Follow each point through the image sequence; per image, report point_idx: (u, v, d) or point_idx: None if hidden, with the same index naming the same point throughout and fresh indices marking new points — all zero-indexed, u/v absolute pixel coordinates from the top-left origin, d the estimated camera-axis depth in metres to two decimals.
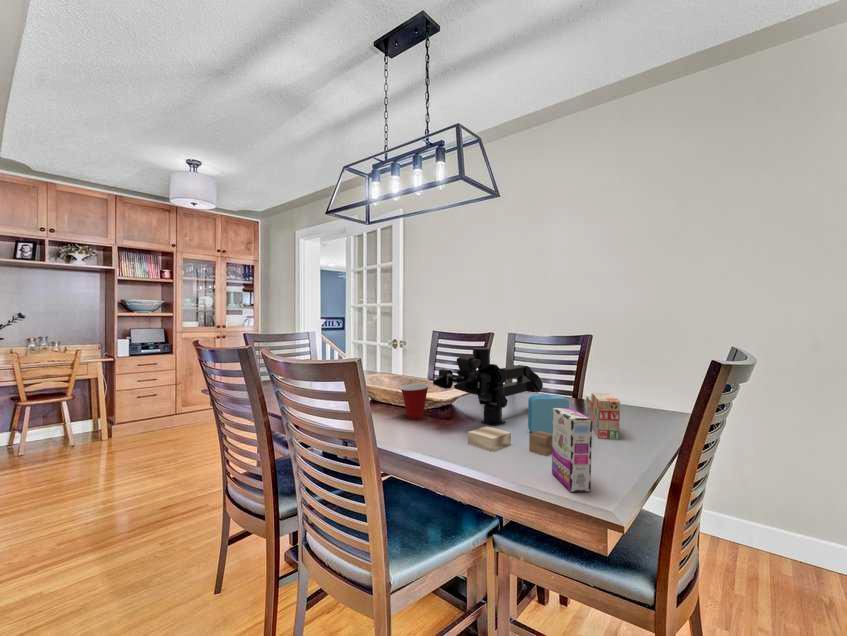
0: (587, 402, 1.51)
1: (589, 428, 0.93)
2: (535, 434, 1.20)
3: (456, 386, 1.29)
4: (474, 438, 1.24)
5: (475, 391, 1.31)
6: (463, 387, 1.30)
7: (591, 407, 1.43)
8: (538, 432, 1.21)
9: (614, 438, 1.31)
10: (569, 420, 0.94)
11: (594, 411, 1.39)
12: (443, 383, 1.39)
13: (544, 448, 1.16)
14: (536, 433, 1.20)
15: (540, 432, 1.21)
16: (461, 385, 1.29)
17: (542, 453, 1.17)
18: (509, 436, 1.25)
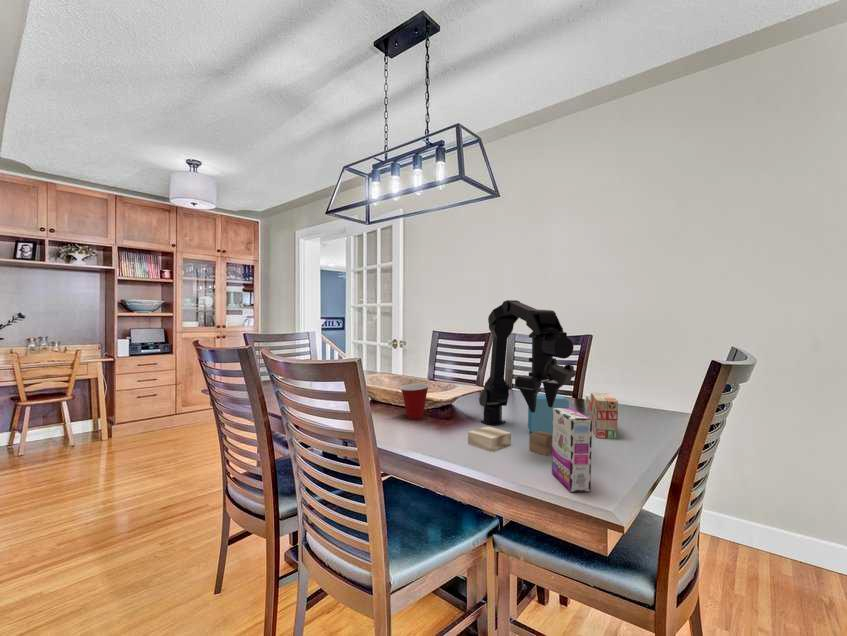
0: (587, 402, 1.51)
1: (589, 428, 0.93)
2: (535, 434, 1.20)
3: None
4: (474, 438, 1.24)
5: None
6: None
7: (590, 407, 1.44)
8: (538, 432, 1.21)
9: (612, 438, 1.31)
10: (569, 420, 0.94)
11: (593, 411, 1.39)
12: None
13: (544, 448, 1.16)
14: (536, 433, 1.21)
15: (540, 432, 1.21)
16: None
17: (542, 453, 1.17)
18: (509, 436, 1.25)
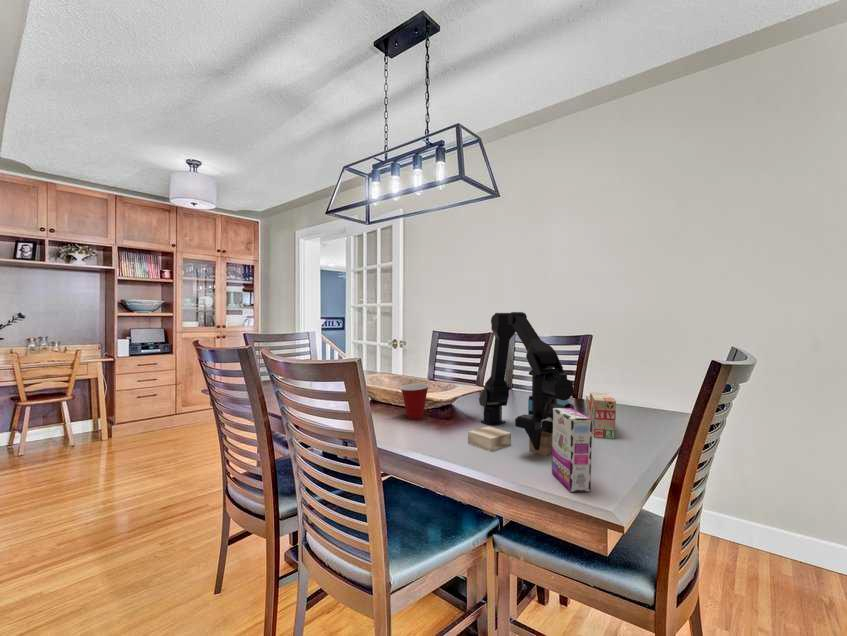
0: (587, 402, 1.51)
1: (589, 428, 0.93)
2: None
3: None
4: (474, 438, 1.24)
5: None
6: None
7: None
8: None
9: (610, 438, 1.32)
10: (569, 420, 0.94)
11: (591, 410, 1.39)
12: None
13: (544, 448, 1.16)
14: None
15: None
16: None
17: (542, 453, 1.17)
18: (509, 436, 1.25)
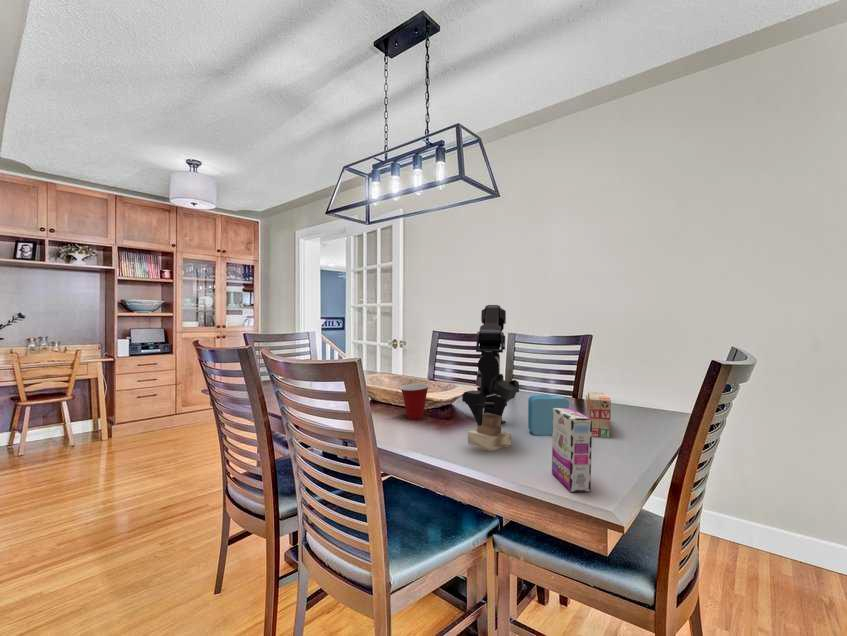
0: None
1: (589, 428, 0.93)
2: None
3: None
4: (473, 438, 1.25)
5: None
6: None
7: None
8: (486, 414, 1.27)
9: (605, 437, 1.33)
10: (569, 420, 0.94)
11: (588, 410, 1.40)
12: None
13: (490, 428, 1.22)
14: (484, 415, 1.26)
15: (488, 414, 1.27)
16: None
17: (488, 433, 1.23)
18: (509, 437, 1.24)
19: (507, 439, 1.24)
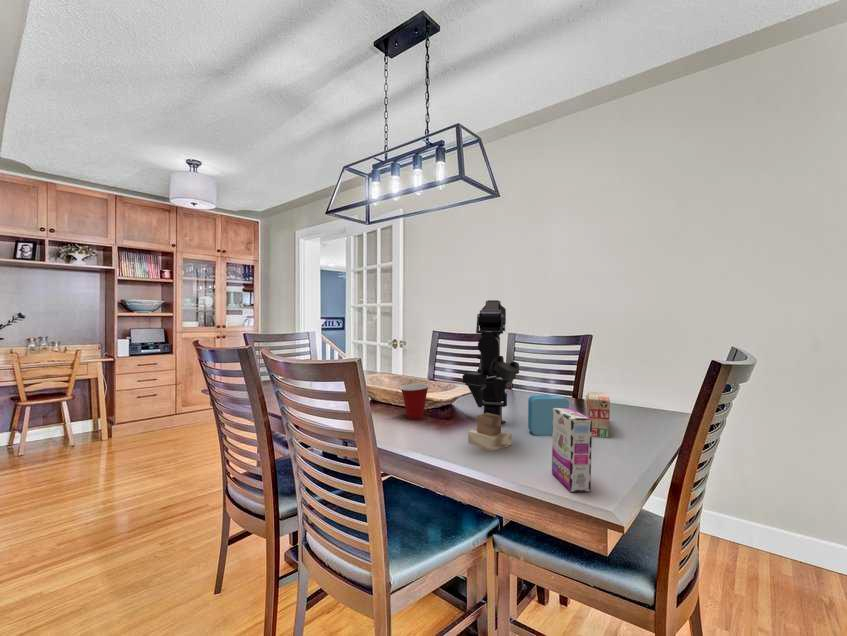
0: None
1: (589, 428, 0.93)
2: (482, 415, 1.25)
3: None
4: (473, 438, 1.25)
5: None
6: None
7: (587, 406, 1.45)
8: (486, 414, 1.27)
9: (604, 437, 1.33)
10: (569, 420, 0.94)
11: None
12: None
13: (490, 428, 1.22)
14: (484, 415, 1.26)
15: (488, 414, 1.27)
16: None
17: (488, 433, 1.23)
18: (509, 437, 1.24)
19: (507, 439, 1.24)
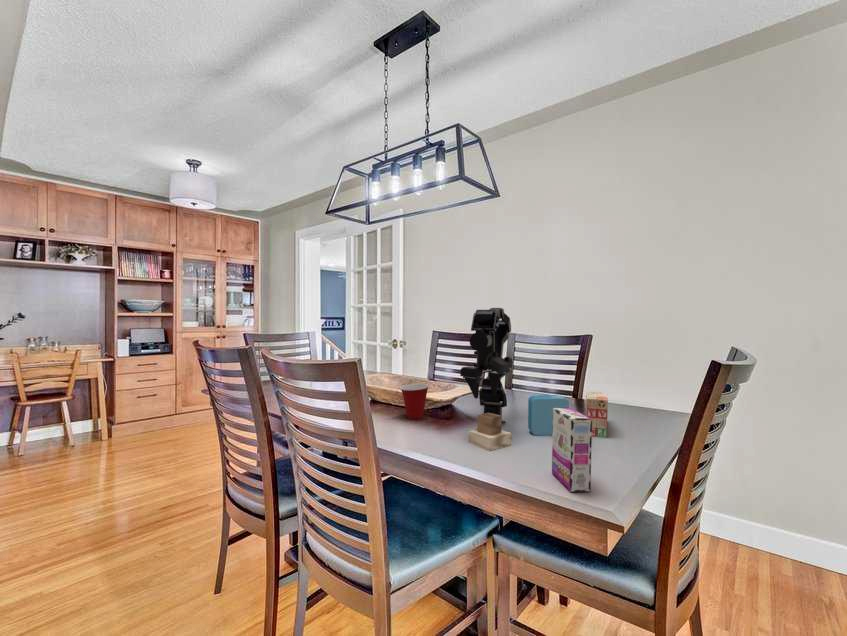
0: None
1: (589, 428, 0.93)
2: (483, 415, 1.26)
3: None
4: (474, 438, 1.25)
5: None
6: None
7: None
8: (487, 413, 1.28)
9: (602, 436, 1.33)
10: (569, 420, 0.94)
11: None
12: None
13: (490, 428, 1.23)
14: (484, 414, 1.27)
15: (488, 413, 1.28)
16: None
17: (488, 432, 1.23)
18: (509, 437, 1.25)
19: (507, 439, 1.24)
